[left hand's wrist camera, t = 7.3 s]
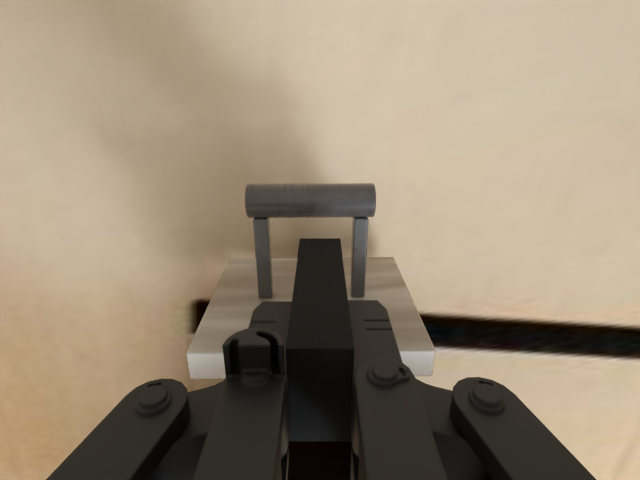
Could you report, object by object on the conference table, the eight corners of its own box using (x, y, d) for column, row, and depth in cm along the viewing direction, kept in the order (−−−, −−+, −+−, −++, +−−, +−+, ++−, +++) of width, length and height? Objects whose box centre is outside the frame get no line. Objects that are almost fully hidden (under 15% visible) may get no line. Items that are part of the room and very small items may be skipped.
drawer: (219, 164, 19) (163, 217, 12) (401, 163, 19) (455, 216, 12) (250, 474, 28) (228, 617, 20) (376, 472, 28) (399, 613, 20)
